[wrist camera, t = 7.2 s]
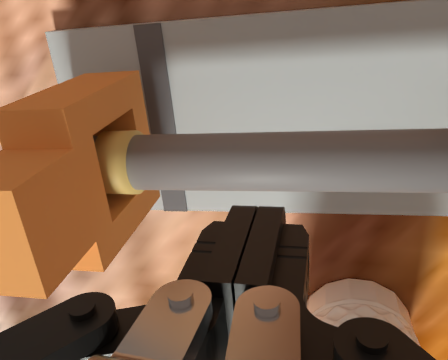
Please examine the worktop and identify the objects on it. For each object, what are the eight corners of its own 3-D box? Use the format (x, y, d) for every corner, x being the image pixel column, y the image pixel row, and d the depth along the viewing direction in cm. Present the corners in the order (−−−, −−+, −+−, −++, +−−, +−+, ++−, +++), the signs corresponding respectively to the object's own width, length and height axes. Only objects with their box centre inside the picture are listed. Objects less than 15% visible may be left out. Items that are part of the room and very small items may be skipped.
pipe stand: (533, -10, 19) (655, -2, 12) (492, 208, 24) (564, 306, 17) (55, 30, 24) (-54, 51, 17) (96, 201, 29) (23, 273, 22)
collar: (138, 70, 21) (-4, 142, 12) (160, 196, 24) (58, 333, 15) (84, 73, 22) (-91, 144, 13) (111, 195, 25) (-16, 326, 16)
